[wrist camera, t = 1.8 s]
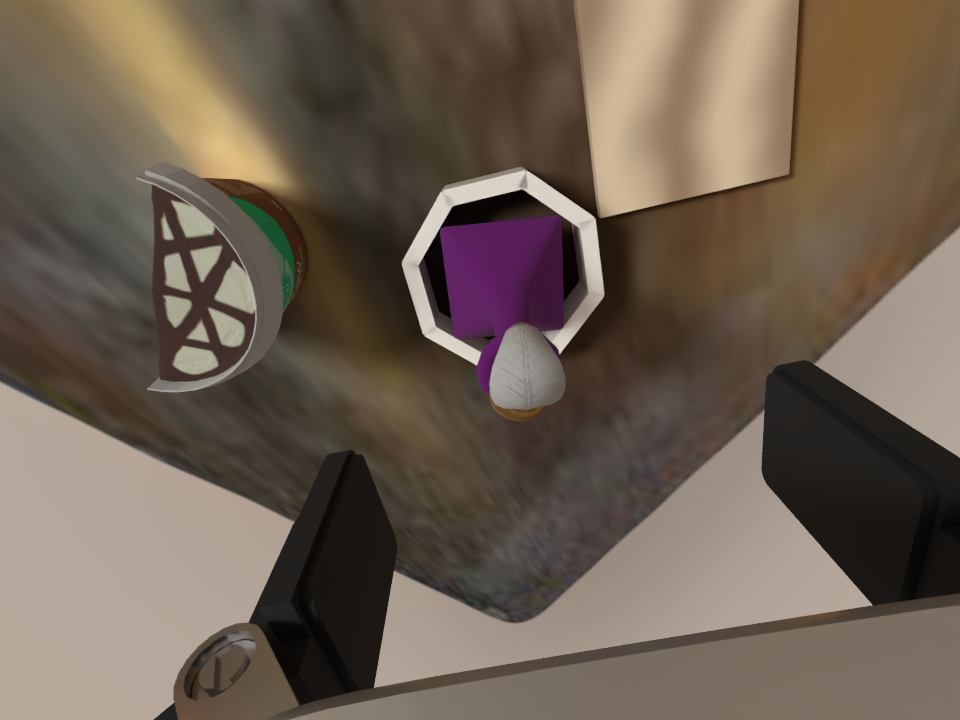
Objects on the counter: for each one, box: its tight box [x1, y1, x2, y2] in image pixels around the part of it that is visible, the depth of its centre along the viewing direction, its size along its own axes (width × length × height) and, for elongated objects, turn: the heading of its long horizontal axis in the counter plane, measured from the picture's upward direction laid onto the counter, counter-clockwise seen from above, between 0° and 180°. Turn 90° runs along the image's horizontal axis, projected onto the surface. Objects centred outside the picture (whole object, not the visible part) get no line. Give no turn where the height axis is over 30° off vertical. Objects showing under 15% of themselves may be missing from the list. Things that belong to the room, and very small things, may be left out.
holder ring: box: [402, 167, 604, 365], centre depth 32 cm, size 12×12×3 cm
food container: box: [136, 162, 308, 392], centre depth 28 cm, size 12×6×10 cm, turn 165°
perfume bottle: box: [440, 215, 566, 422], centre depth 25 cm, size 8×8×18 cm
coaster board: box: [573, 0, 799, 218], centre depth 28 cm, size 12×12×1 cm
